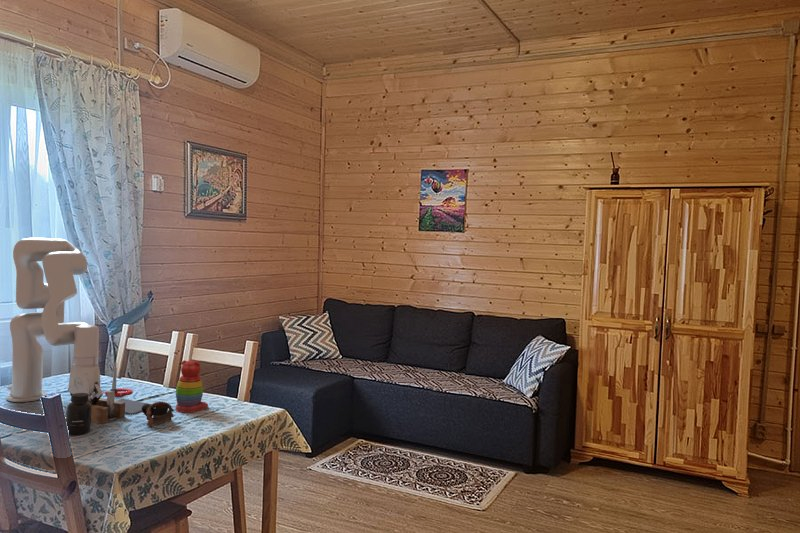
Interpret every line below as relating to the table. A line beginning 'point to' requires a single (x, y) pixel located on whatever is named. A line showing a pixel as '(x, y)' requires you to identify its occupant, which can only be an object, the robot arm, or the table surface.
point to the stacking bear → (190, 388)
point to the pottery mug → (157, 413)
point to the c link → (106, 411)
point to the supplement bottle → (79, 414)
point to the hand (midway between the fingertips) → (84, 412)
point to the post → (111, 405)
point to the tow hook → (115, 384)
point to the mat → (132, 406)
